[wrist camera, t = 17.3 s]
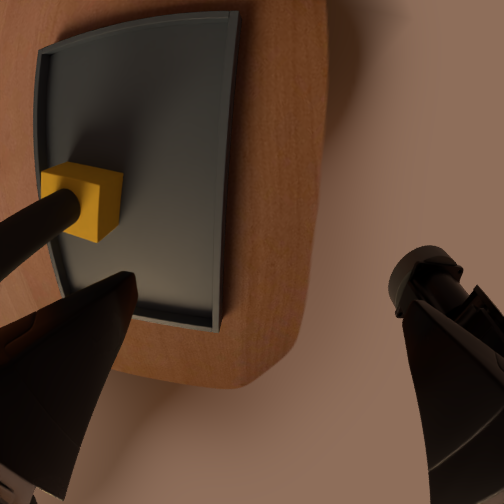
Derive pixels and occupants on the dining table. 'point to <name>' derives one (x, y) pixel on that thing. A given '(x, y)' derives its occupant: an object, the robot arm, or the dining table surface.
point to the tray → (147, 155)
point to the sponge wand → (62, 212)
